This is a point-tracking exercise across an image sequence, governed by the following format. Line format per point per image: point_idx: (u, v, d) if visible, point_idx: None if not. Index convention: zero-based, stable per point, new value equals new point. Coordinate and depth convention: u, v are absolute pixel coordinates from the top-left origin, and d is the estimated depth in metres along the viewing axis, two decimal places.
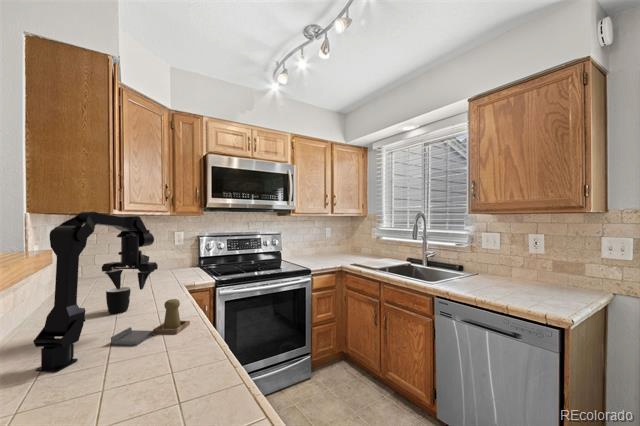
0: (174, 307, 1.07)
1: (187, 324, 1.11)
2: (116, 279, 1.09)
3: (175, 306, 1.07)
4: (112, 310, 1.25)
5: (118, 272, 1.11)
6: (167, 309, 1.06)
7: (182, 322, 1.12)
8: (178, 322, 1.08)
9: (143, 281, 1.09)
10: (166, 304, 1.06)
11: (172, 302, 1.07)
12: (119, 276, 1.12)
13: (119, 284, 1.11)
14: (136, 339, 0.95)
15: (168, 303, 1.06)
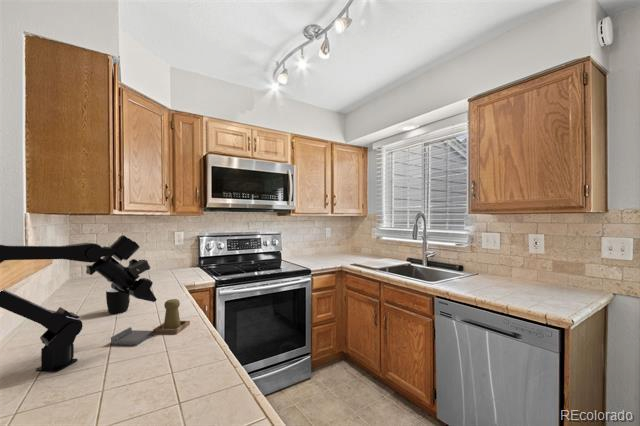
0: (174, 307, 1.07)
1: (187, 324, 1.11)
2: None
3: (175, 306, 1.07)
4: (112, 310, 1.25)
5: None
6: (167, 309, 1.06)
7: (182, 322, 1.12)
8: (178, 322, 1.08)
9: (149, 297, 0.97)
10: (166, 304, 1.06)
11: (172, 302, 1.07)
12: None
13: None
14: (136, 339, 0.95)
15: (168, 303, 1.06)
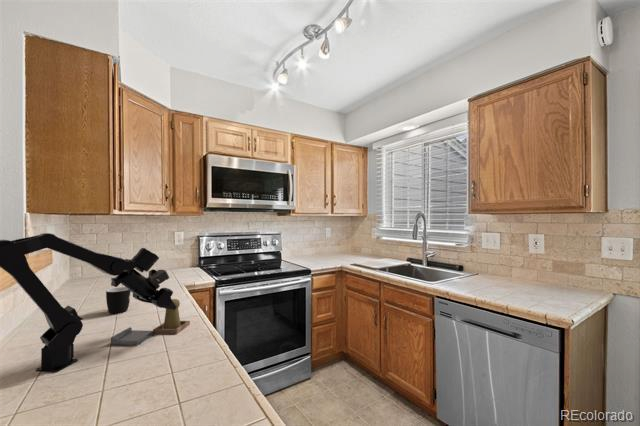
0: None
1: (187, 324, 1.11)
2: None
3: None
4: (112, 310, 1.25)
5: None
6: (167, 309, 1.06)
7: (182, 322, 1.12)
8: (178, 322, 1.08)
9: (170, 305, 1.02)
10: None
11: None
12: None
13: None
14: (136, 339, 0.95)
15: None
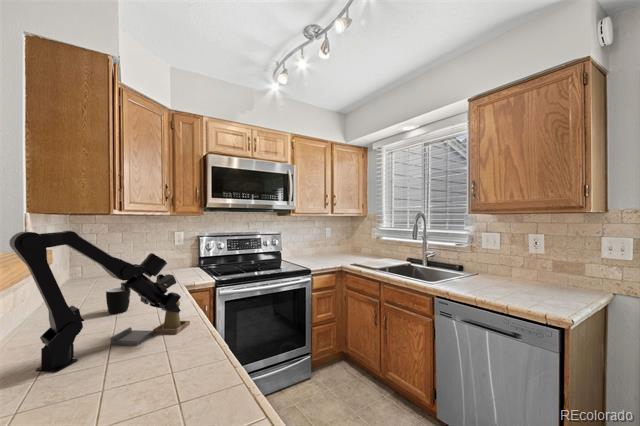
0: None
1: (187, 324, 1.11)
2: None
3: None
4: (112, 310, 1.25)
5: None
6: None
7: (182, 322, 1.12)
8: (178, 322, 1.08)
9: (174, 308, 1.05)
10: None
11: None
12: None
13: None
14: (136, 339, 0.95)
15: None
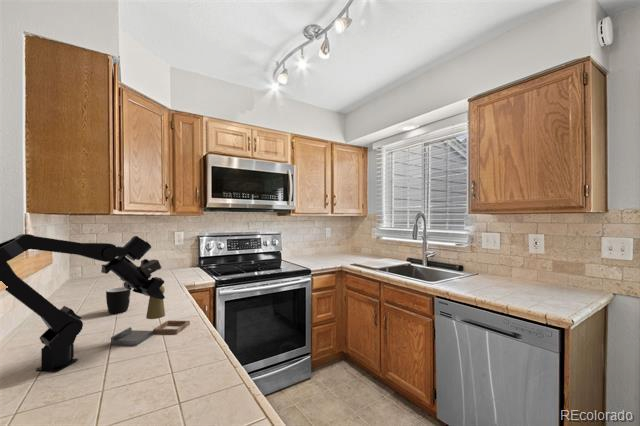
0: None
1: (187, 324, 1.11)
2: None
3: None
4: (112, 310, 1.25)
5: None
6: None
7: (182, 322, 1.12)
8: (162, 309, 1.04)
9: (158, 294, 1.01)
10: None
11: None
12: None
13: None
14: (136, 339, 0.95)
15: None
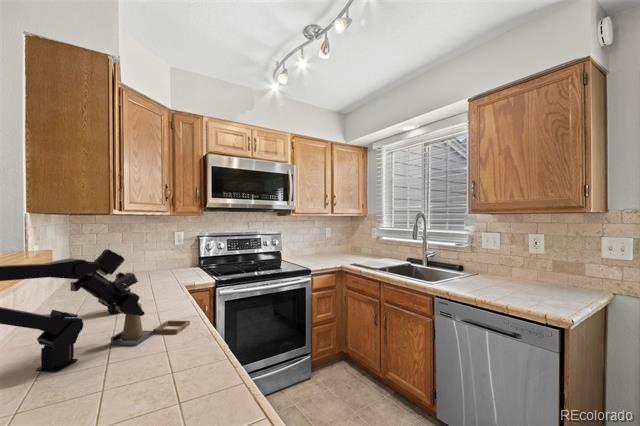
0: None
1: (187, 324, 1.11)
2: None
3: None
4: (112, 310, 1.25)
5: None
6: (126, 314, 0.97)
7: (182, 322, 1.12)
8: (139, 328, 0.98)
9: (136, 311, 0.95)
10: None
11: None
12: None
13: None
14: (136, 339, 0.95)
15: None
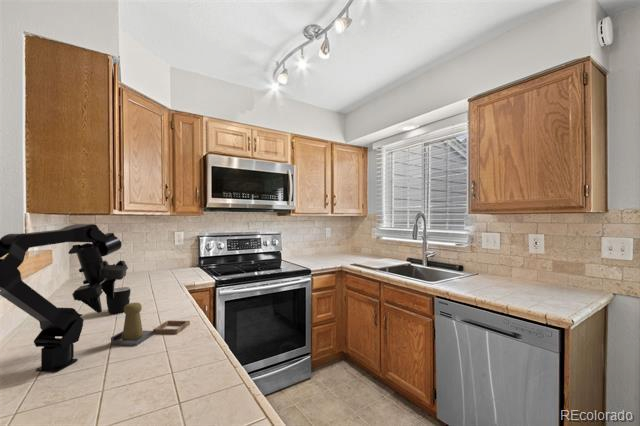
0: (134, 312, 0.97)
1: (187, 324, 1.11)
2: (105, 289, 0.99)
3: (135, 310, 0.97)
4: (112, 310, 1.25)
5: (108, 281, 0.99)
6: (126, 314, 0.97)
7: (182, 322, 1.12)
8: (139, 328, 0.98)
9: (93, 305, 0.89)
10: (125, 308, 0.97)
11: (132, 306, 0.97)
12: (112, 286, 1.00)
13: (111, 294, 1.00)
14: (136, 339, 0.95)
15: (127, 307, 0.97)
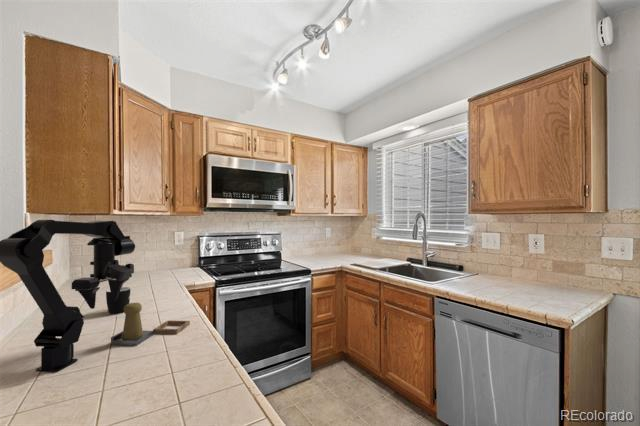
0: (134, 312, 0.97)
1: (187, 324, 1.11)
2: (112, 289, 1.02)
3: (135, 310, 0.97)
4: (112, 310, 1.25)
5: (117, 282, 1.02)
6: (126, 314, 0.97)
7: (182, 322, 1.12)
8: (139, 328, 0.98)
9: (88, 299, 0.91)
10: (125, 308, 0.97)
11: (132, 306, 0.97)
12: (118, 287, 1.02)
13: (115, 295, 1.01)
14: (136, 339, 0.95)
15: (127, 307, 0.97)
